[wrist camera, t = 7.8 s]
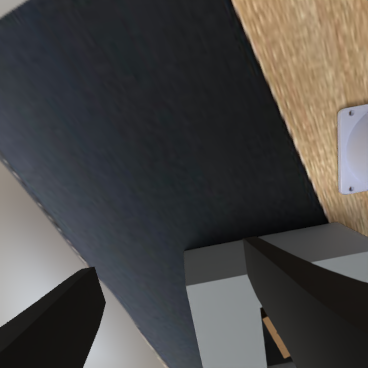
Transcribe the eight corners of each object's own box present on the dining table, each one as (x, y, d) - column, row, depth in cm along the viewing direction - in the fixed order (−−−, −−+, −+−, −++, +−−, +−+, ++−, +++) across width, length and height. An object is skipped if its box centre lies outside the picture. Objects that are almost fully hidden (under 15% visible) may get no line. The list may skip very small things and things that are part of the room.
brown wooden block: (271, 272, 21) (294, 303, 17) (289, 307, 22) (314, 344, 18) (245, 285, 21) (262, 319, 17) (264, 319, 22) (284, 358, 18)
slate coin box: (336, 222, 20) (388, 247, 15) (338, 331, 23) (382, 382, 18) (183, 251, 20) (186, 286, 15) (205, 357, 23) (212, 414, 18)
